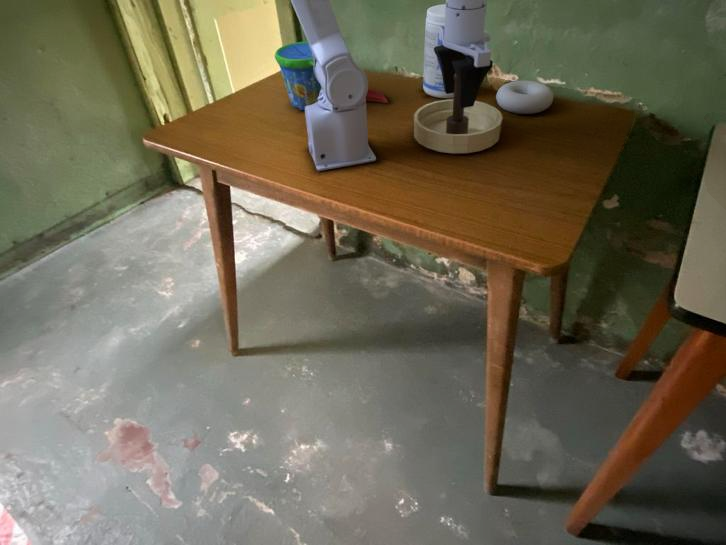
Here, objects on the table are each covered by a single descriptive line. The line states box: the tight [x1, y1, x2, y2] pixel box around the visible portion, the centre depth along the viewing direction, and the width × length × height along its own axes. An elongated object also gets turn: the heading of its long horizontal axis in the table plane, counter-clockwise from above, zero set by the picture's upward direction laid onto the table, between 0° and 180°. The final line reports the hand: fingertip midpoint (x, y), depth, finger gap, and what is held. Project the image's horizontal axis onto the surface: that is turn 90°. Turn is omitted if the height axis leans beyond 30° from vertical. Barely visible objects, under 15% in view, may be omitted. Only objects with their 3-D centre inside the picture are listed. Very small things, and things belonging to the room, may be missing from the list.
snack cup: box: [274, 41, 322, 111], centre depth 93 cm, size 16×10×10 cm
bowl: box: [413, 98, 504, 154], centre depth 81 cm, size 14×14×4 cm
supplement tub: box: [422, 3, 454, 100], centre depth 93 cm, size 10×10×15 cm
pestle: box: [446, 73, 469, 134], centre depth 79 cm, size 4×4×10 cm
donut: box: [495, 79, 554, 115], centre depth 89 cm, size 10×3×10 cm
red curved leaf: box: [366, 88, 389, 104], centre depth 96 cm, size 12×5×2 cm, turn 50°
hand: (458, 99), depth 78 cm, fingers open, 5 cm apart
